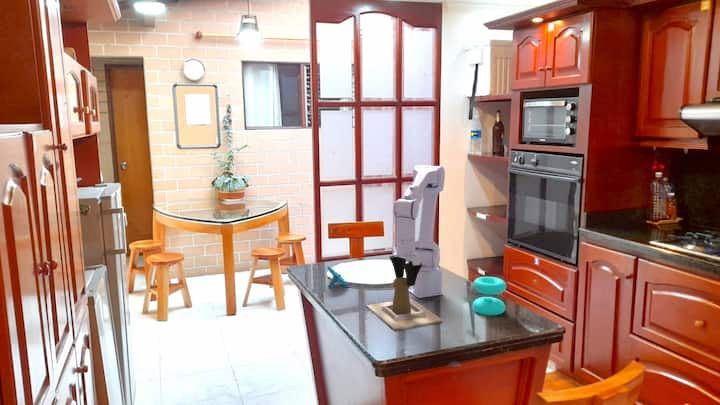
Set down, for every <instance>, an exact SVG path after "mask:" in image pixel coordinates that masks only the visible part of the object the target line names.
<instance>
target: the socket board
mask: <svg viewBox="0 0 720 405" xmlns="http://www.w3.org/2000/svg"><path fill="white" fill-rule="evenodd" d="M409 299H410V307H411V313H407V314H401V315H397V314H395V313H394V312H393V311H392V307H393V300H392V301H385V302H378V303H371V304H366V308H367V309H369V310H370V311H371V312H372V313H373V314H374V315H376V317H378V319H380V320H381V321H382V322H383V323H385V324H386V325H387V326H388V327H389V328H391V329H392V330H393V331H399V330H406V329H411V328H417V327H422V326H428V325H434V324H439V323H443V322H444V321H443V319H442V318H441V317H439V316H438V315H436V314H434V312H432V311H430V310H429V309H427V308H425V306H423V305H421V304H420V303H419V302H417V301H416V300H414V299H413V298H411V297H409Z"/></svg>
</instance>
